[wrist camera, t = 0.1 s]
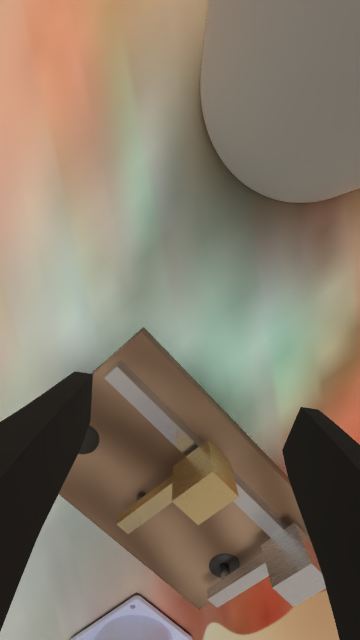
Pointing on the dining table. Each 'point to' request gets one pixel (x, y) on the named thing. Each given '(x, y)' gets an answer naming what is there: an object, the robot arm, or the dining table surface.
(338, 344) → the dining table surface
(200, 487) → the block
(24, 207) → the dining table surface
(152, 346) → the slide rail board
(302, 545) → the trammel
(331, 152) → the cylinder vase
